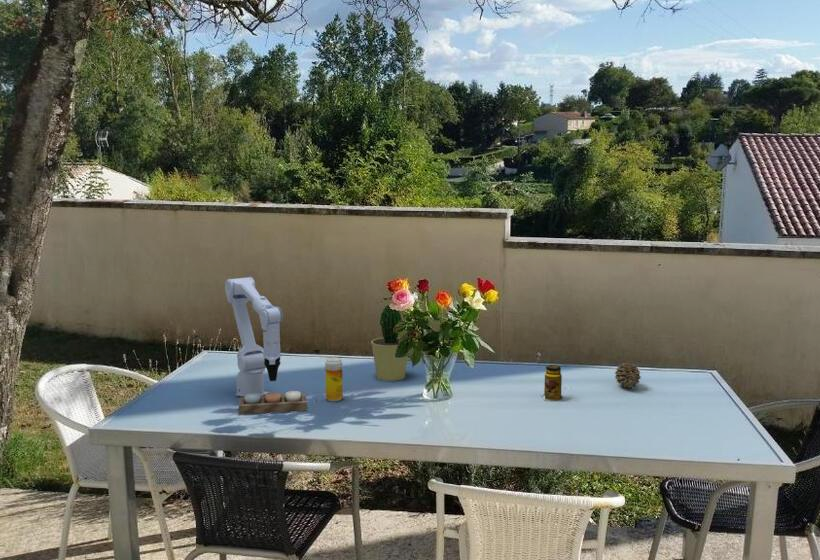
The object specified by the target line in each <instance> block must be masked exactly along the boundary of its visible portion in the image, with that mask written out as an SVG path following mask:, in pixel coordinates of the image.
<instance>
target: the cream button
mask: <svg viewBox="0 0 820 560" xmlns="http://www.w3.org/2000/svg"><path fill="white" fill-rule="evenodd" d="M301 394H302V393H301V391H296V390H289V391H287V392H285V395H286V402H292V401H301Z"/></svg>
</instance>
